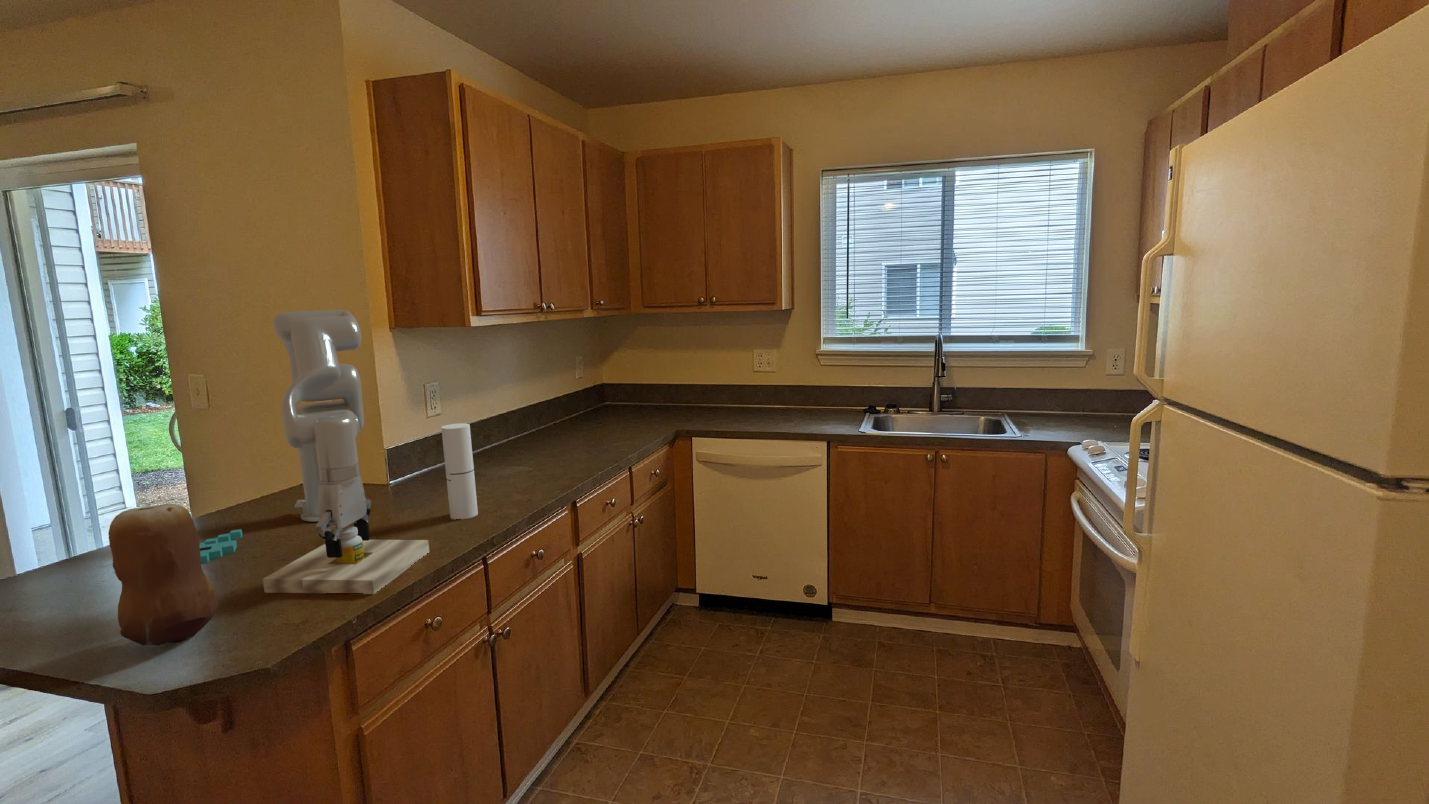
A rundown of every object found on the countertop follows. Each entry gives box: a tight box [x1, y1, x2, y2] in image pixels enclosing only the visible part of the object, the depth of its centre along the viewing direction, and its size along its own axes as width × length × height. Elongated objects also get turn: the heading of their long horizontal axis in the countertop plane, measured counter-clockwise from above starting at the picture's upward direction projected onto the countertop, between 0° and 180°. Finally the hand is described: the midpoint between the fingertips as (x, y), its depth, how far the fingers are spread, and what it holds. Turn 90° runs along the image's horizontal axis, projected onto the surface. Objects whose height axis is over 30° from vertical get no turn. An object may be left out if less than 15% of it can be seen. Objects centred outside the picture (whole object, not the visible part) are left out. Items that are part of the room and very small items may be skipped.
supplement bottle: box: [337, 526, 365, 564], centre depth 147 cm, size 5×5×10 cm
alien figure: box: [199, 528, 244, 565], centre depth 160 cm, size 20×2×20 cm
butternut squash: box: [108, 503, 219, 646], centre depth 118 cm, size 14×13×25 cm
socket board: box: [262, 539, 430, 595], centre depth 148 cm, size 24×22×3 cm
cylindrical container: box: [440, 422, 479, 520], centre depth 181 cm, size 7×7×25 cm
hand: (349, 548), depth 147 cm, fingers open, 9 cm apart
